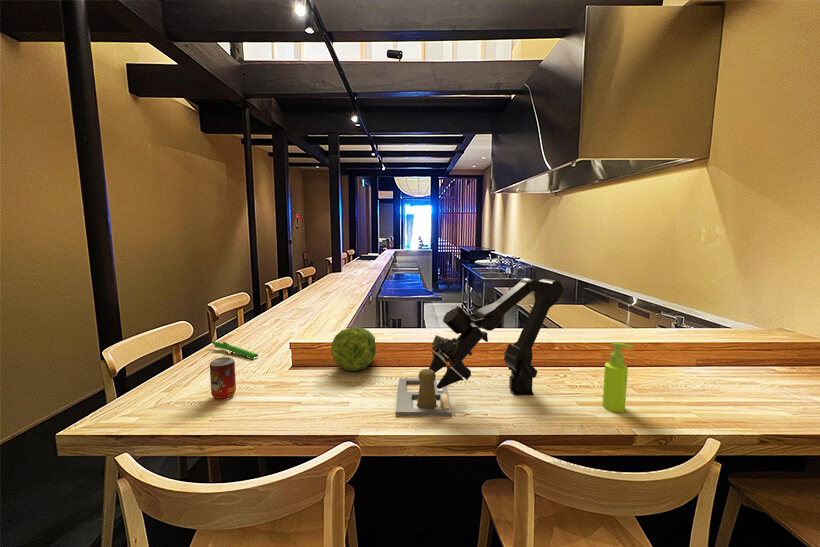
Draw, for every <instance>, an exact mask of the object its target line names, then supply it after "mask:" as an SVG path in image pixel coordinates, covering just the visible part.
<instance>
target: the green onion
mask: <svg viewBox="0 0 820 547" xmlns="http://www.w3.org/2000/svg"><path fill="white" fill-rule="evenodd" d="M211 342H212V345H214V348H218V349H222V350H225V351H228V350H229V351H232V352H235V353H238V355H239V354H241V356H242V355H244V356H243V357H245V356H248V357H250V358H249V359H251V358H254V357H257V356H258V357H259V354H258V353H255V352H253V351H249V350H246V349H243V348H241V347H237V346H235V345H231V344H229V343H227V342H225V341H223V342H218V341H215V340H211ZM248 357H247V358H248Z"/></svg>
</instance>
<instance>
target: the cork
mask: <svg viewBox="0 0 820 547" xmlns="http://www.w3.org/2000/svg"><path fill="white" fill-rule="evenodd" d="M418 378H419V380H420V384H419V389H418V392H419V395H418V398H417V403H416V406H417V407H418V409H437V406H438V405H437V398H436V395H435V387H434V381H435V378H437V374H436V373H435V372H434V371H433V370H431V369H429V368H423V369H421V370H420V371H419V372H418Z"/></svg>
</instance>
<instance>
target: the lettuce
mask: <svg viewBox="0 0 820 547" xmlns="http://www.w3.org/2000/svg"><path fill="white" fill-rule="evenodd" d="M375 339H376V337H375V336H374V334H373V333H372V332H371V331H370V330H368V329H366V328H363V327H362V326H353V327H348V328H345V329H342V330H340V331H339V332H338V333H337V334H336V335H335V337H334V338H333V340H332V342H331V350H330V351H331V352H330V353H331V356H332V358H333V361H334V362H335V364H337V366H338V367H340V368H341V369H343V370H346V371H353V372H354V371H355V372H358V371H361V370H363V369H366V368H367V367H369V365H370V364H371V363H372V362H373V360H374V359H375V357H376V353H377V352H376V343H375Z"/></svg>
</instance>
